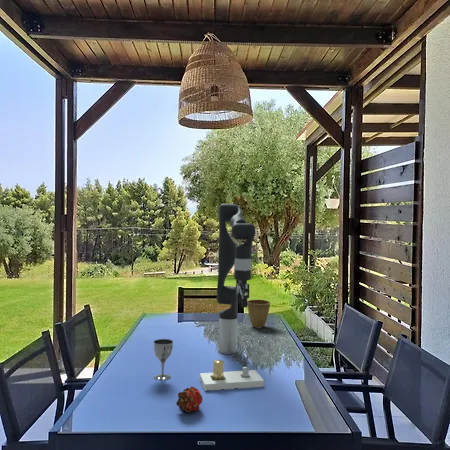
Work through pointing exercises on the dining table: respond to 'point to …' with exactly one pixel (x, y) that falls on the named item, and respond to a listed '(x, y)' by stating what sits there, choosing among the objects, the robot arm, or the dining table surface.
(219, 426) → the dining table surface
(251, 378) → the plate
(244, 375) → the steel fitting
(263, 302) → the plant pot
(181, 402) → the dragon fruit
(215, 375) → the cylinder
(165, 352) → the wine glass
